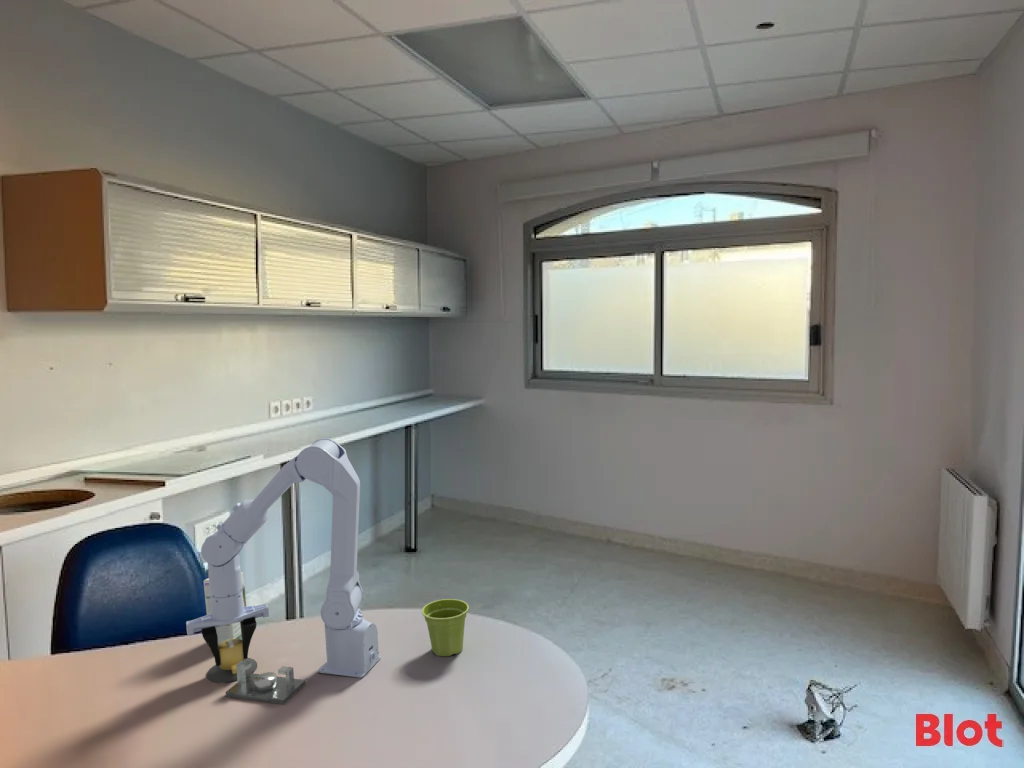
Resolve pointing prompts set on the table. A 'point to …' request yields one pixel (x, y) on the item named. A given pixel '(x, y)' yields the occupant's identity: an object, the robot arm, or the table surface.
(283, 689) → the grey plate with posts
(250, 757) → the table surface
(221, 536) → the robot arm
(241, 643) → the cap
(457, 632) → the plant pot
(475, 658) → the table surface
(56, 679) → the table surface
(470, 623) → the table surface
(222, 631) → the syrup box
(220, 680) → the mat
